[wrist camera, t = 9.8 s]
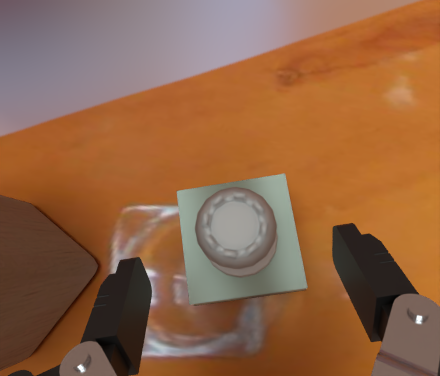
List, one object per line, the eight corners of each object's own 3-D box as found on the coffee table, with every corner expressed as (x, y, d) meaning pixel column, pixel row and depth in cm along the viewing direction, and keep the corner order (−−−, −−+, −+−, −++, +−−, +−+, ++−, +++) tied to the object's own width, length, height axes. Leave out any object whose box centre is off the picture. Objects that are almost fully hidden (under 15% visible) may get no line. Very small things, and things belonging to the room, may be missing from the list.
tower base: (201, 299, 27) (182, 314, 19) (190, 206, 29) (168, 184, 21) (297, 286, 26) (318, 295, 18) (279, 192, 28) (291, 164, 20)
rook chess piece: (193, 261, 20) (156, 259, 12) (219, 193, 20) (201, 150, 13) (262, 288, 19) (272, 307, 11) (286, 217, 20) (311, 188, 12)
